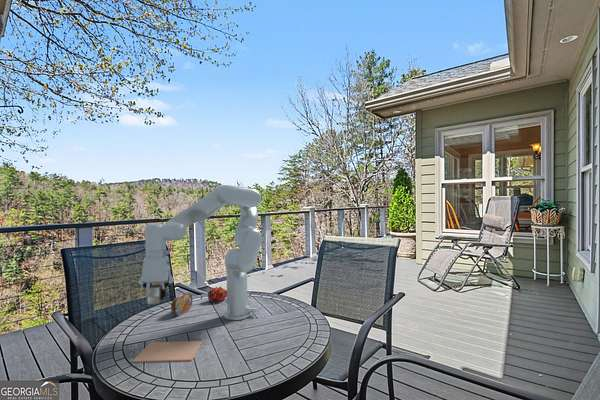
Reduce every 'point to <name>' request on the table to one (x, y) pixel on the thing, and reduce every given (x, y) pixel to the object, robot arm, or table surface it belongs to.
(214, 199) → the robot arm
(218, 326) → the table surface
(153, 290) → the card box
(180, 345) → the mat
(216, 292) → the dragon fruit
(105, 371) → the table surface
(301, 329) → the table surface
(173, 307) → the tin
